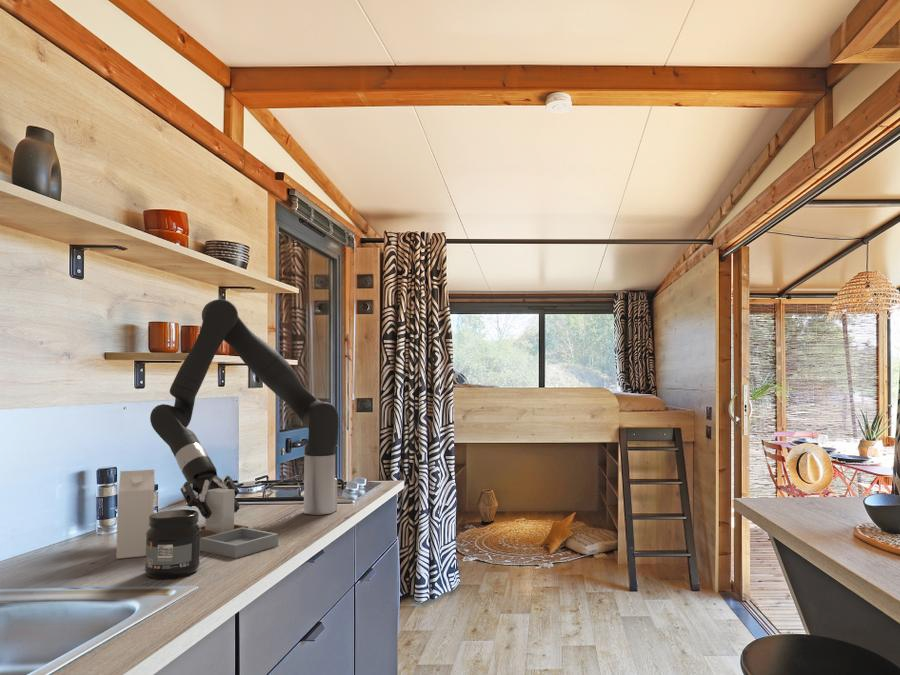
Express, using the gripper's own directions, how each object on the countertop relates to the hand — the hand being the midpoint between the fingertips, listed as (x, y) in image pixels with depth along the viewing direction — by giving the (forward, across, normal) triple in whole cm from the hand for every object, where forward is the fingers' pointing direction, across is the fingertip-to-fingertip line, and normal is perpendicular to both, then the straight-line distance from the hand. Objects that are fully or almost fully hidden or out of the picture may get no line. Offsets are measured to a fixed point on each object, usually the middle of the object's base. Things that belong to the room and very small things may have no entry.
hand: (223, 513), depth 160 cm
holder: (+3, 0, +5) cm, 6 cm away
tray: (+12, -4, -4) cm, 13 cm away
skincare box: (+4, 0, +6) cm, 7 cm away
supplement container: (+15, -24, -6) cm, 29 cm away
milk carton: (+1, -20, +8) cm, 22 cm away
